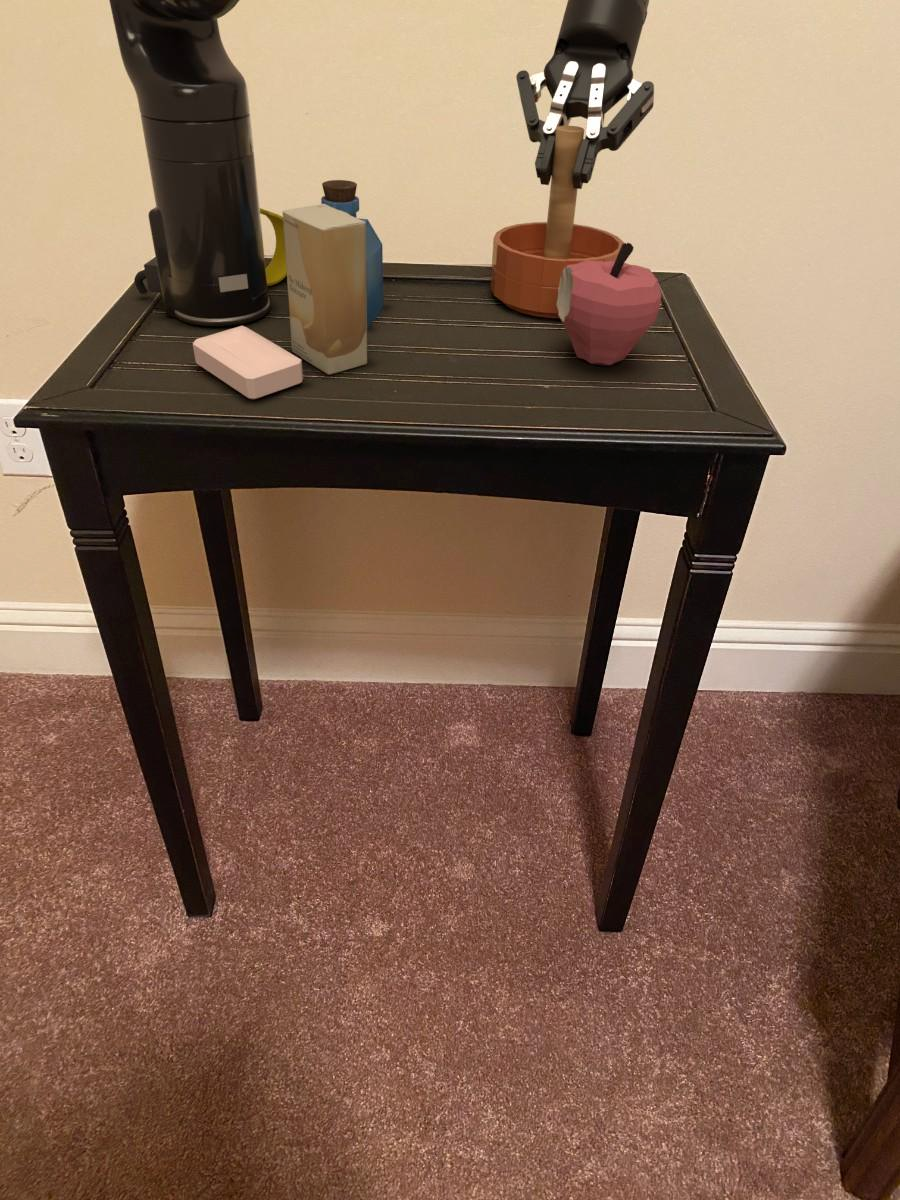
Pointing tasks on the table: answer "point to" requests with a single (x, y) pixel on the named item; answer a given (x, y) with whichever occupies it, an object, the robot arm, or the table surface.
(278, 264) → the bracelet
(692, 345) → the table surface
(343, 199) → the blue potion bottle
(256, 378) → the soap bar
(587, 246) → the bowl
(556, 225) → the stick
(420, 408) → the table surface
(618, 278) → the apple
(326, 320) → the cosmetic box
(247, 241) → the robot arm
